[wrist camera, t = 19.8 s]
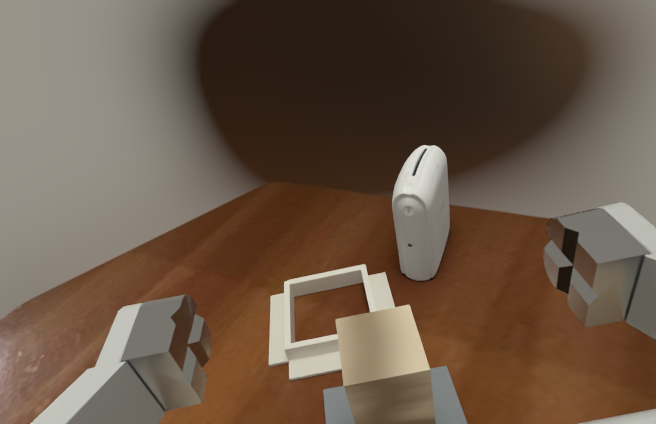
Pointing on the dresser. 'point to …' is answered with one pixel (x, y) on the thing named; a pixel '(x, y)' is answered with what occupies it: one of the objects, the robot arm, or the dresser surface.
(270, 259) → the dresser surface
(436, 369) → the slate mat
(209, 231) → the dresser surface
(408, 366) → the block
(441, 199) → the photo printer
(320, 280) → the flanged square frame
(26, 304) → the dresser surface
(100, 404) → the robot arm
